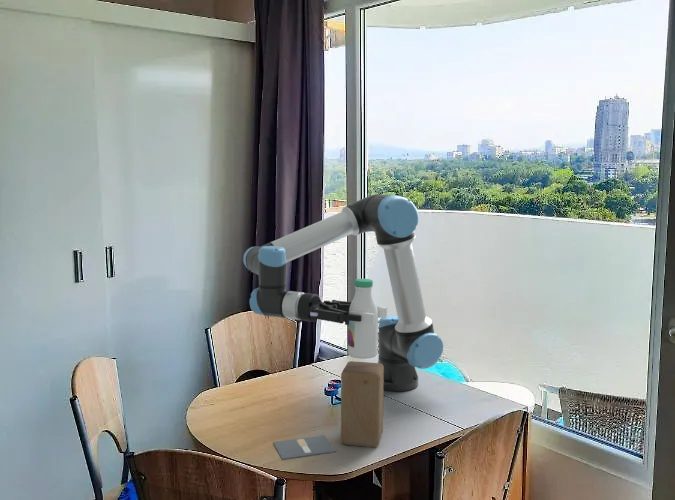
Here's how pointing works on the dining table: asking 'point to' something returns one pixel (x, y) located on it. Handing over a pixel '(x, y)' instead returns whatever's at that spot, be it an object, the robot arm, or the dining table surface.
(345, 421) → the wooden block
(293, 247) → the robot arm
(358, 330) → the milk bottle
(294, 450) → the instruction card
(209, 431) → the dining table surface
